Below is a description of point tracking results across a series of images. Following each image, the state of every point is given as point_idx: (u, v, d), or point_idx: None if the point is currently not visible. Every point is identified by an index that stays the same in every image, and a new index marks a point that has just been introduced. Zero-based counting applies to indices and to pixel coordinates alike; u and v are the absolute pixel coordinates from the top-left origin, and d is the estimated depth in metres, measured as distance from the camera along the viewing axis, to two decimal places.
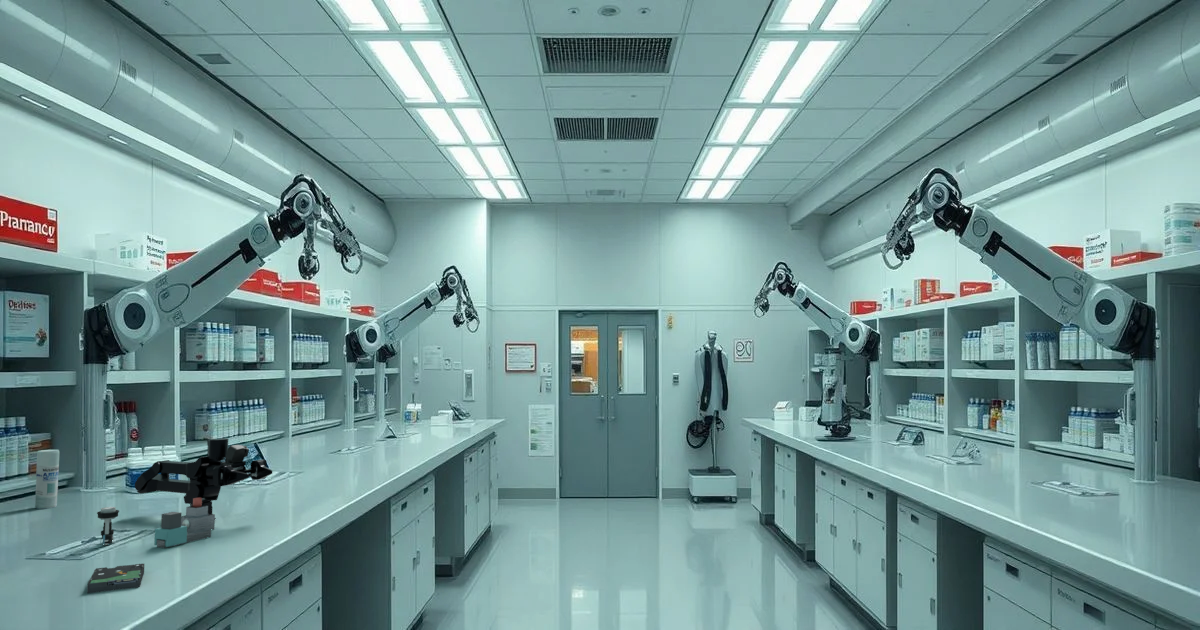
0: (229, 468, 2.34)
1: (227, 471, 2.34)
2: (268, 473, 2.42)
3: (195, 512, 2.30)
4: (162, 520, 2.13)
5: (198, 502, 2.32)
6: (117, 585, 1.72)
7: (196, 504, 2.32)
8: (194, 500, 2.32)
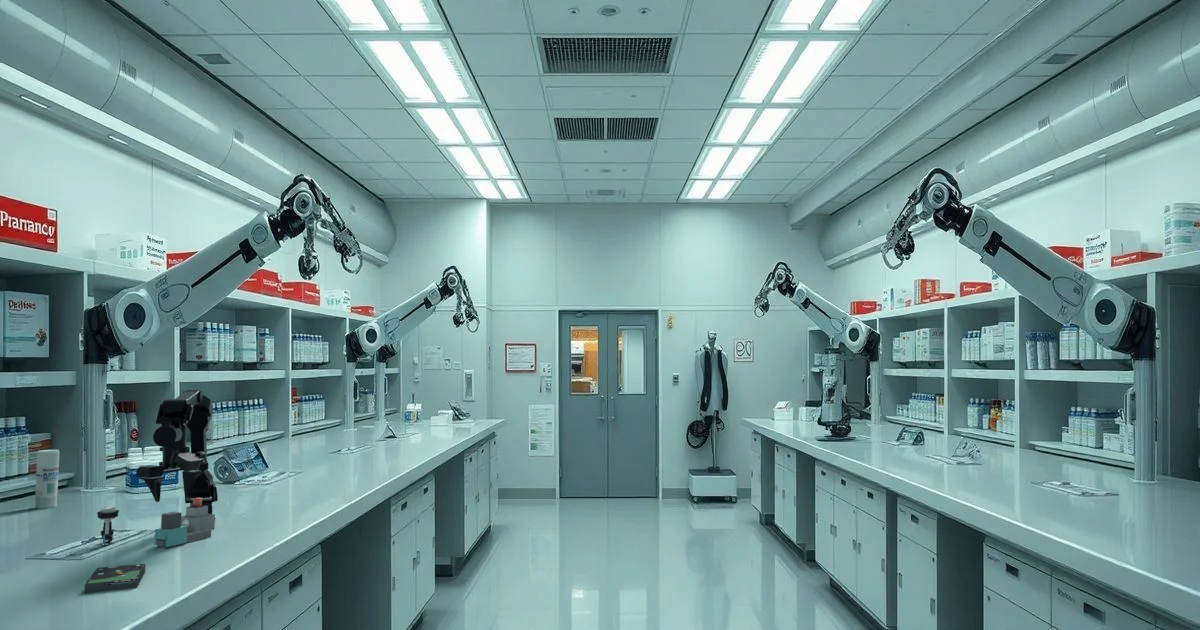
0: (158, 481, 2.08)
1: (155, 480, 2.08)
2: (185, 492, 2.19)
3: (195, 512, 2.30)
4: (162, 520, 2.13)
5: (198, 502, 2.32)
6: (114, 585, 1.71)
7: (196, 504, 2.32)
8: (194, 500, 2.32)
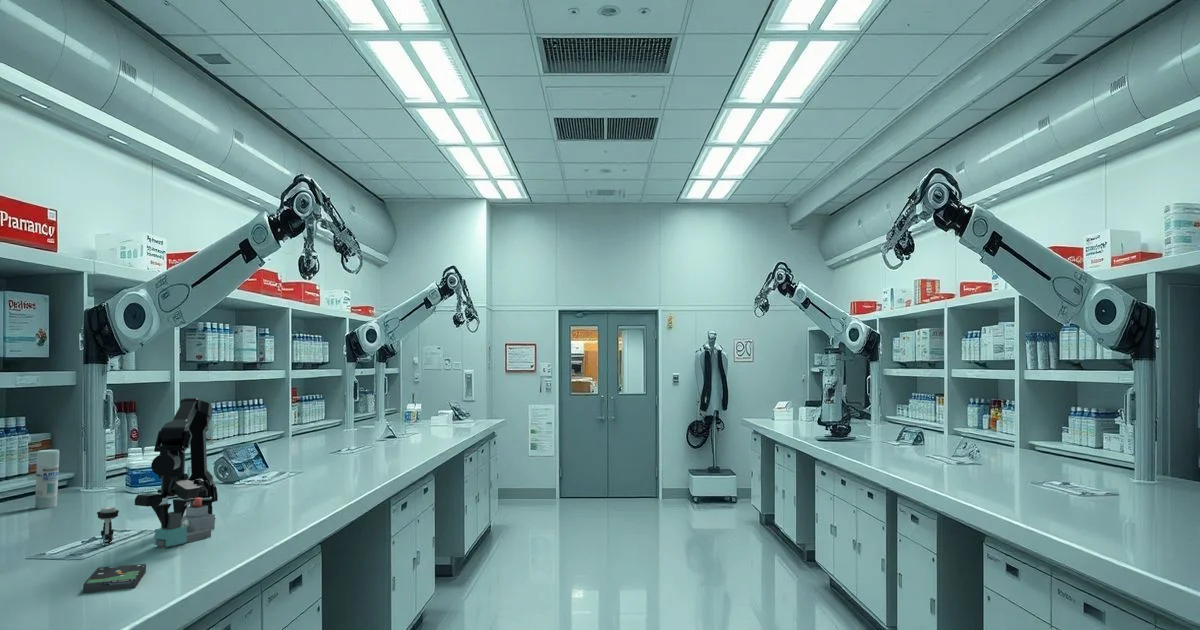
0: (165, 507, 2.10)
1: (162, 506, 2.10)
2: None
3: (195, 512, 2.30)
4: None
5: (198, 502, 2.32)
6: (112, 586, 1.71)
7: (196, 504, 2.32)
8: None
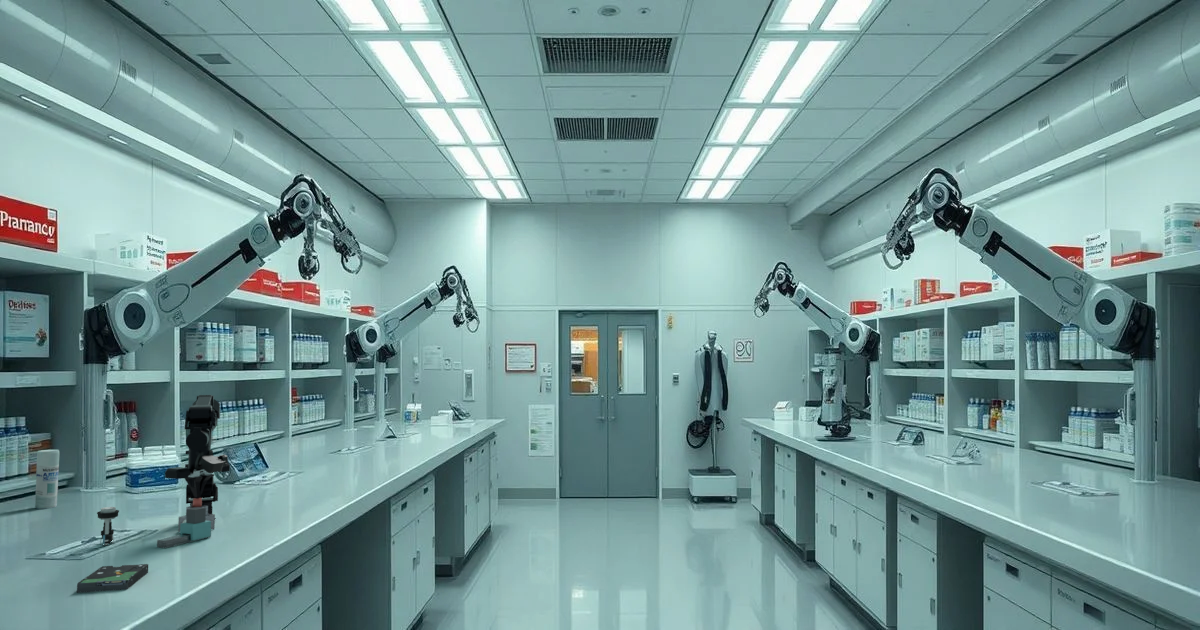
0: (197, 479, 2.31)
1: (194, 478, 2.31)
2: None
3: None
4: (187, 515, 2.20)
5: (198, 502, 2.32)
6: (105, 586, 1.71)
7: (196, 504, 2.32)
8: (194, 500, 2.32)
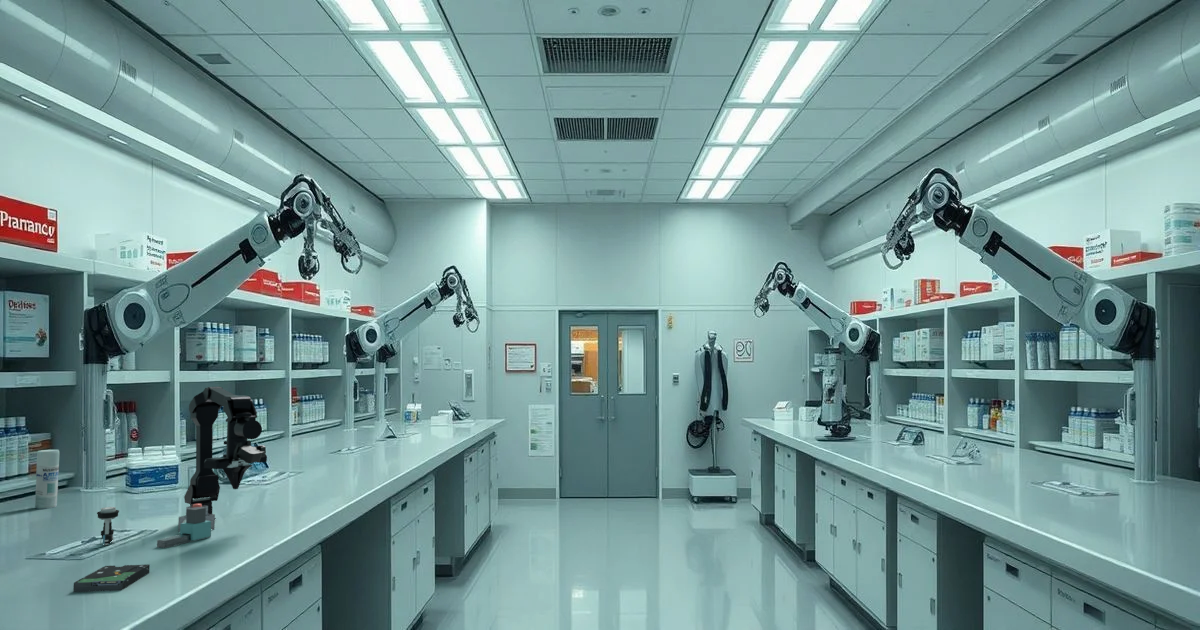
0: (236, 470, 2.28)
1: None
2: None
3: None
4: (187, 515, 2.20)
5: None
6: (100, 586, 1.71)
7: None
8: (194, 506, 2.32)
